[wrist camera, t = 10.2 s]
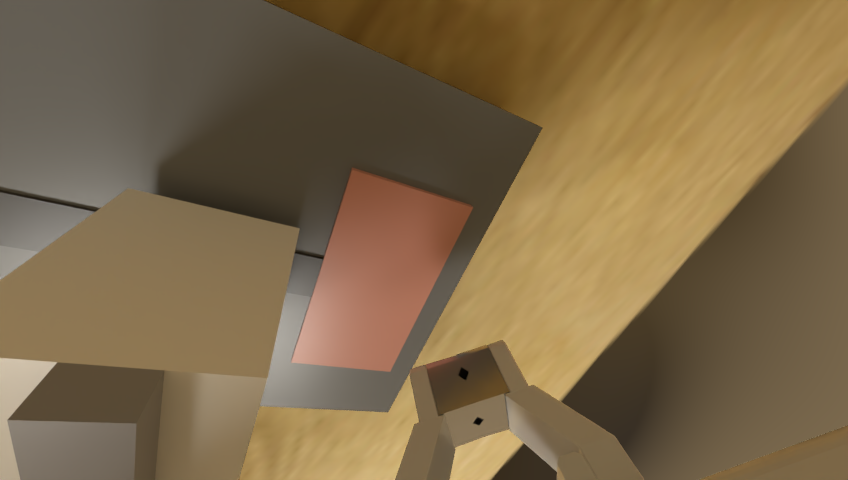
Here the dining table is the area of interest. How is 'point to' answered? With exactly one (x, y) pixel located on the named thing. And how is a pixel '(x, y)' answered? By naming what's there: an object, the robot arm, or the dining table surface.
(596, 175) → the dining table surface
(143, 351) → the handle
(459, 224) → the breaker panel
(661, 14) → the dining table surface
